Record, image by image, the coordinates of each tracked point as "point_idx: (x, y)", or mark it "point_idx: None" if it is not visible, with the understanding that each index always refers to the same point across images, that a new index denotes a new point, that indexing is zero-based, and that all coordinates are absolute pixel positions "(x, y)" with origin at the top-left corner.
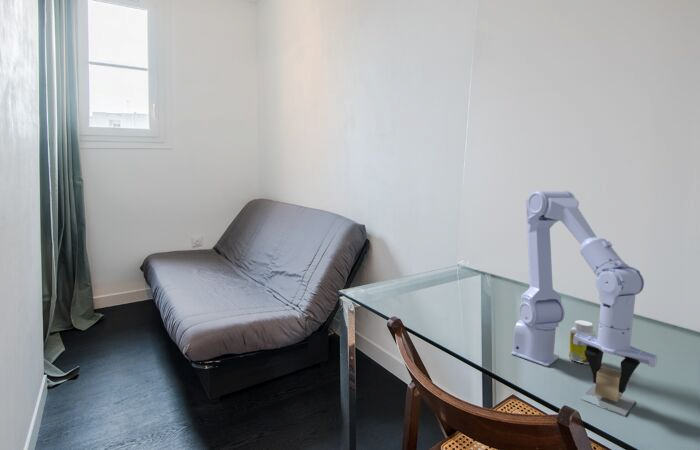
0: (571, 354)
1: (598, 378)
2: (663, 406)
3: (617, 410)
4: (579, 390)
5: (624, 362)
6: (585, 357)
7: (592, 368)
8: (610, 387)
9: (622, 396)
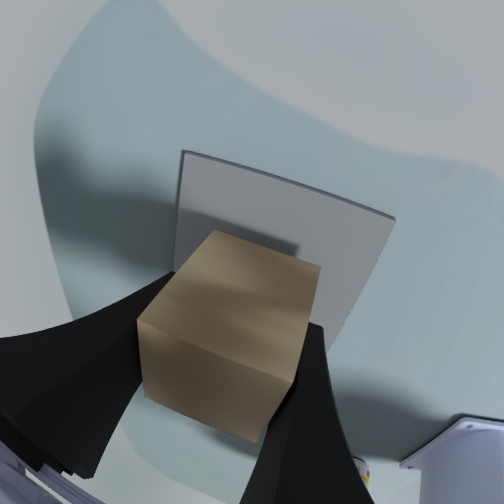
0: (364, 479)
1: (289, 336)
2: None
3: (217, 180)
4: (385, 308)
5: (2, 411)
6: None
7: (324, 408)
8: (221, 283)
9: None
